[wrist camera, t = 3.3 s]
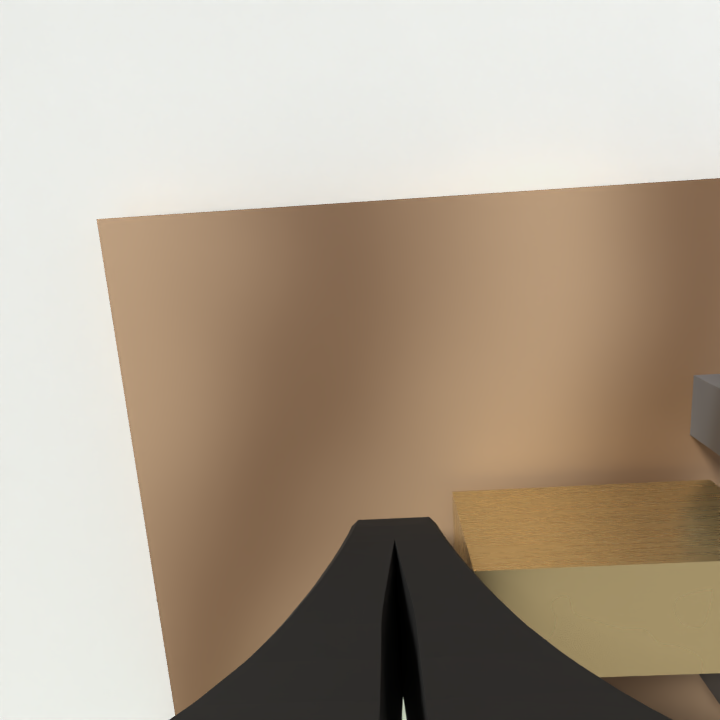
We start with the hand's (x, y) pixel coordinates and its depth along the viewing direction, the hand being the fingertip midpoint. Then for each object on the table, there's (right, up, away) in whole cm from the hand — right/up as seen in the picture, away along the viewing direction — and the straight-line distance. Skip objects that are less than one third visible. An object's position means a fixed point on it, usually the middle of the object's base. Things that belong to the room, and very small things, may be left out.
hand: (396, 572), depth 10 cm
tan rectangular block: (+3, 0, +1) cm, 3 cm away
